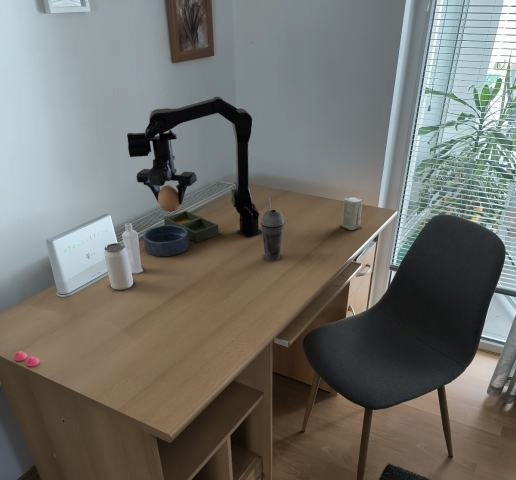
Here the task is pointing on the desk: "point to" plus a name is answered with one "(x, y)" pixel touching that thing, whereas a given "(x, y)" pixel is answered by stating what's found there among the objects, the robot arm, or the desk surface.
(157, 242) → the bowl
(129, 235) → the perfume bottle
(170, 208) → the egg
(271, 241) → the beverage cup
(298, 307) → the desk surface
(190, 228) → the carton
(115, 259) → the can
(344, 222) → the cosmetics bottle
